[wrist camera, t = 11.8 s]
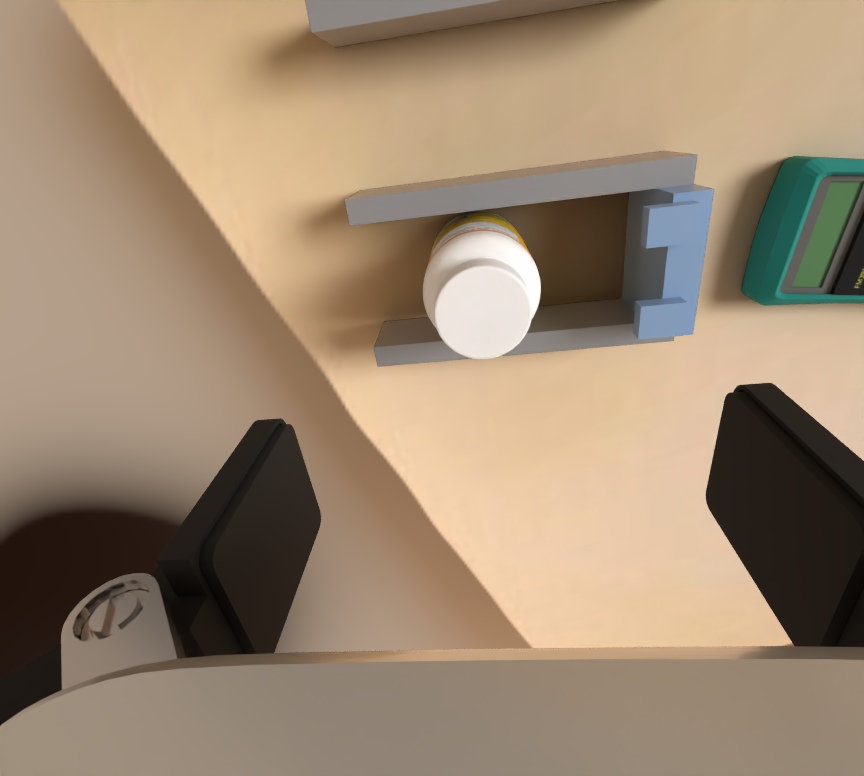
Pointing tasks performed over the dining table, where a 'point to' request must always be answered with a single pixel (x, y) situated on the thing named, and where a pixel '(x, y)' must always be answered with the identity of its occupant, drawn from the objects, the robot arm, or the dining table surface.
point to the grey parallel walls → (637, 174)
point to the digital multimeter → (810, 235)
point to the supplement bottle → (481, 285)
